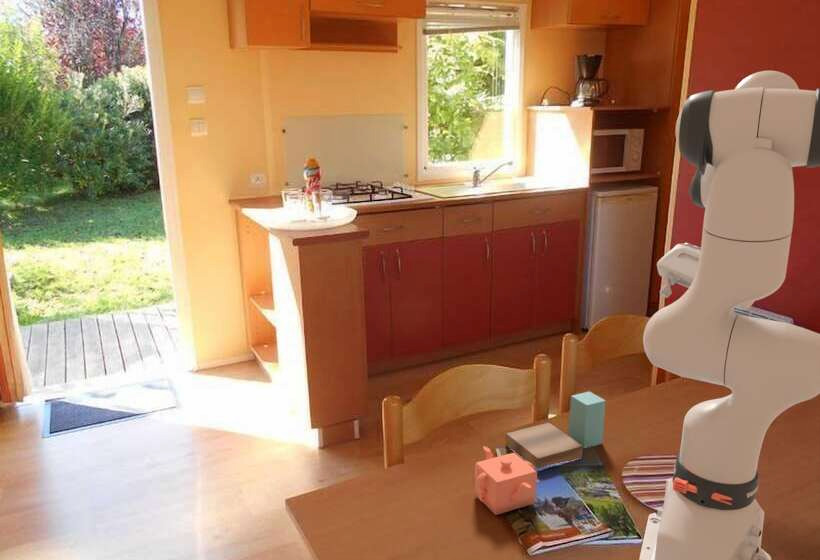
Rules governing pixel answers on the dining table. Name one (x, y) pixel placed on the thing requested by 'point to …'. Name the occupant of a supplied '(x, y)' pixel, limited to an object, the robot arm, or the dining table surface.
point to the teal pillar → (587, 419)
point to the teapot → (505, 482)
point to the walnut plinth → (543, 445)
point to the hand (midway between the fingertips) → (682, 303)
